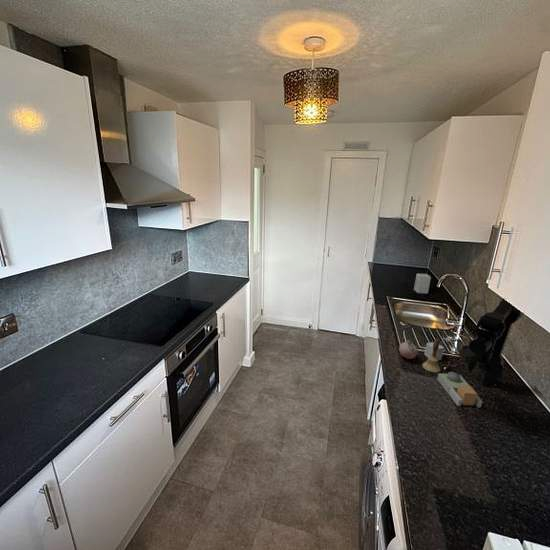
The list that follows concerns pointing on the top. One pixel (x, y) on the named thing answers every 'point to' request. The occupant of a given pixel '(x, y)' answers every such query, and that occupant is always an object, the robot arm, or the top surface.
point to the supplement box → (422, 283)
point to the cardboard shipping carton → (467, 395)
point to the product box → (430, 350)
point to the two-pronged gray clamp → (455, 386)
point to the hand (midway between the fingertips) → (475, 378)
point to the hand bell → (432, 359)
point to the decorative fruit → (408, 350)
